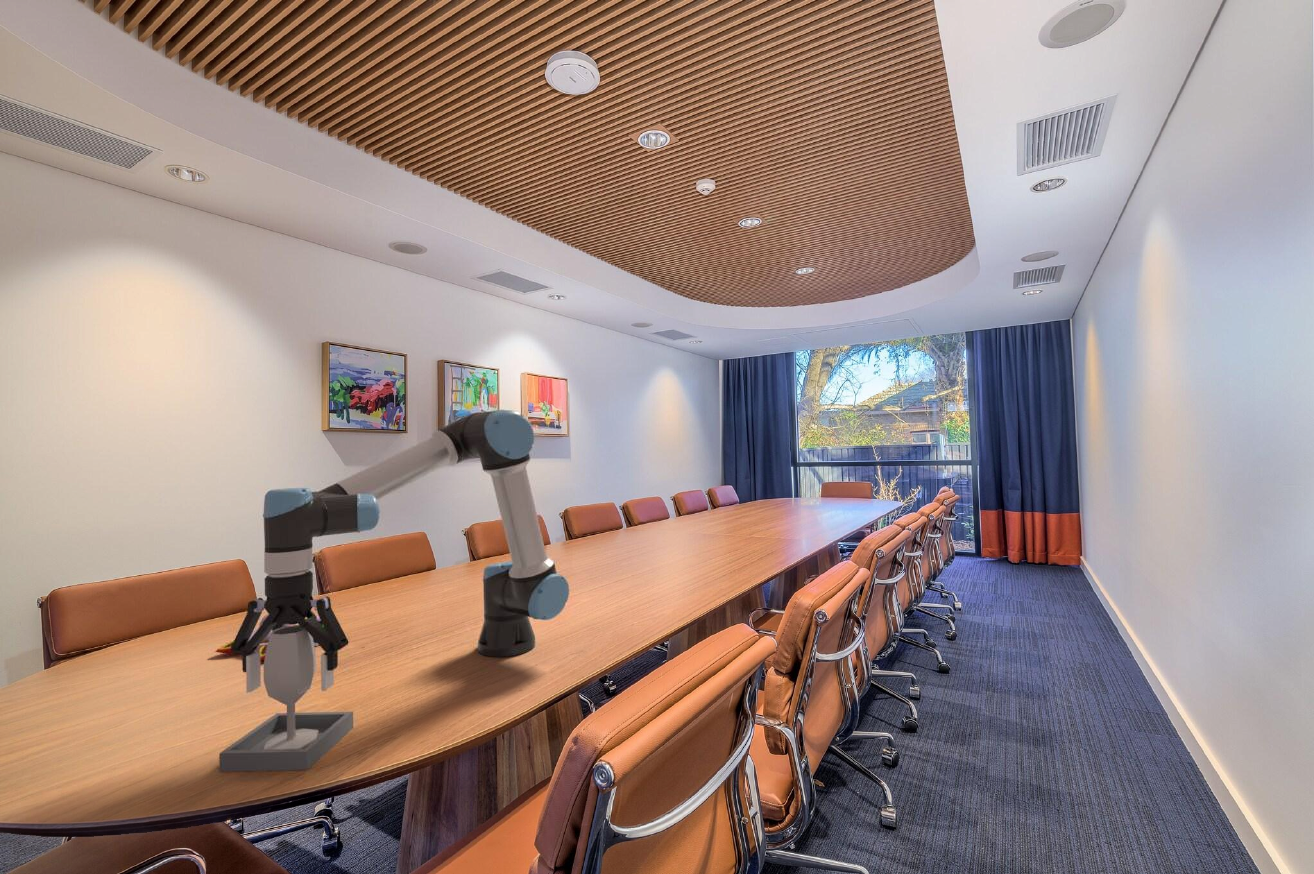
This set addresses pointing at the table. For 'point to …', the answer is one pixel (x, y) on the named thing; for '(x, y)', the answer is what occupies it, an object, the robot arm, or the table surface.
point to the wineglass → (290, 680)
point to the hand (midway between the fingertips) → (290, 688)
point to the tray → (256, 758)
